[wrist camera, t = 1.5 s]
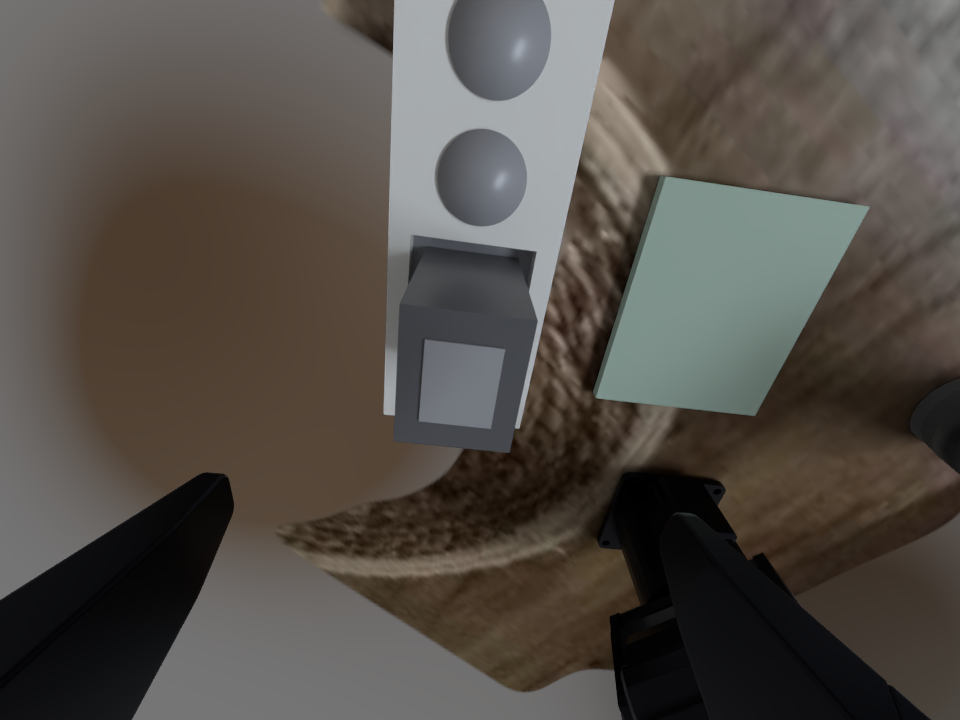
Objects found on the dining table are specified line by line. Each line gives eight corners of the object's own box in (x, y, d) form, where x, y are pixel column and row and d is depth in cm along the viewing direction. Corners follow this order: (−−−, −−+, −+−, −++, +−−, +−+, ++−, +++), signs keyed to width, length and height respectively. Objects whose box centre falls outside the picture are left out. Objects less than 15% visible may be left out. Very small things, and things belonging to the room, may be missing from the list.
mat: (748, 409, 23) (754, 415, 23) (592, 392, 23) (595, 398, 22) (858, 204, 18) (869, 206, 18) (660, 175, 18) (665, 176, 17)
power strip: (516, 406, 23) (520, 436, 21) (390, 392, 23) (381, 421, 20) (620, -86, 14) (648, -131, 11) (409, -127, 13) (394, -180, 11)
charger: (500, 357, 21) (509, 454, 14) (419, 348, 20) (393, 442, 14) (518, 258, 18) (538, 321, 12) (426, 246, 18) (398, 304, 12)
